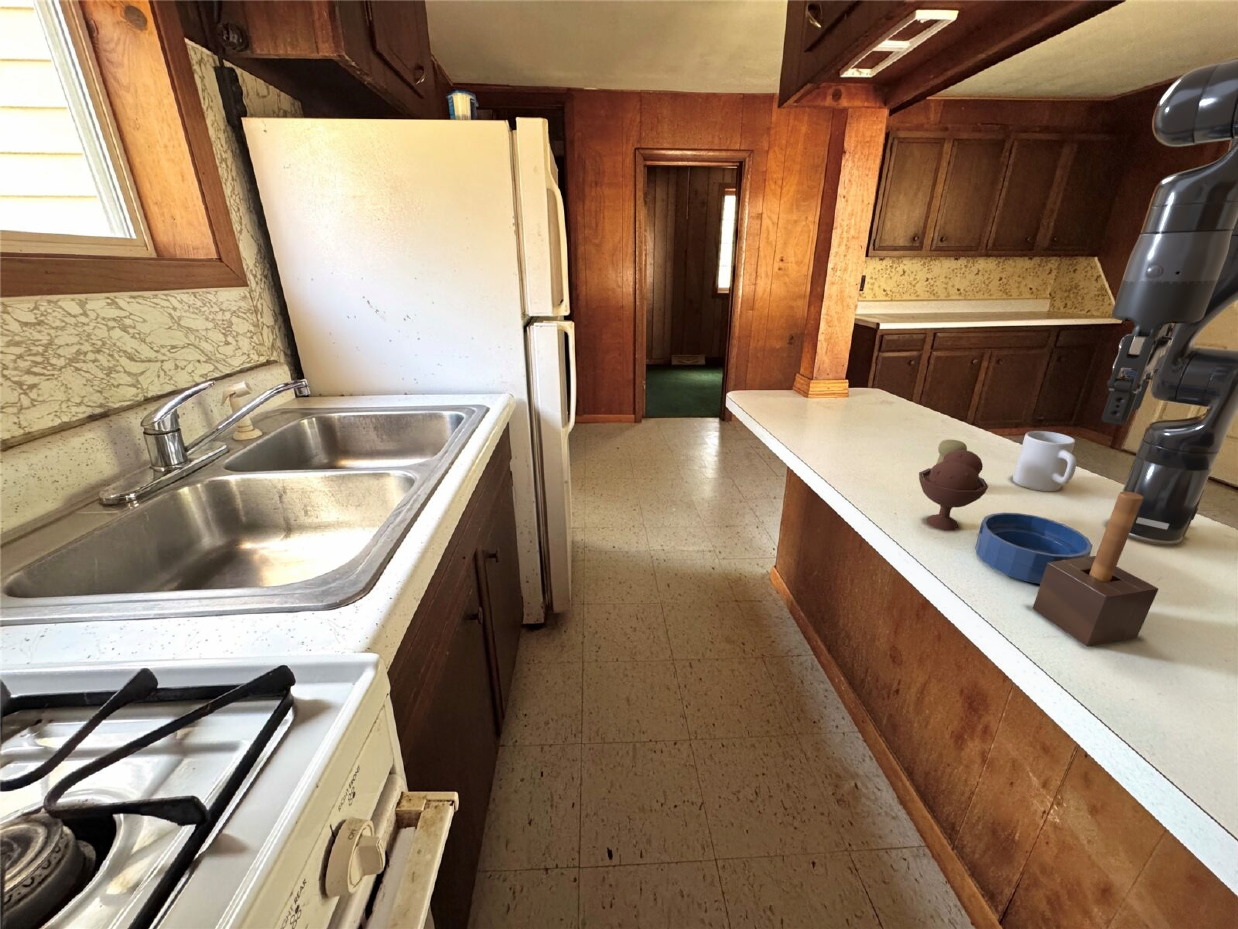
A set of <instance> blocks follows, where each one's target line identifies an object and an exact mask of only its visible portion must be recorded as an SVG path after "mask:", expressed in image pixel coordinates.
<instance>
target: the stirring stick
mask: <svg viewBox="0 0 1238 929" xmlns="http://www.w3.org/2000/svg"><path fill="white" fill-rule="evenodd" d="M1142 500H1143V496H1141V495H1139V494H1137V493H1133V492H1127V491H1123V490H1122V491H1119V493H1118V496H1117V497H1116V501H1115V504H1114V505H1113V509H1112V511H1111V513H1110V517H1109V520H1108V522H1107V525H1106V528H1105V530H1104V533H1103V536H1102V539H1101V541H1100V543H1099V547H1098V549H1097V551H1096V554H1095V556H1096V557H1095V560H1094V562H1093V565H1092V568H1091V570H1090V573H1089V575H1090V576H1091V577H1093V578H1095V579H1097V580H1098V581H1100V582H1102V583H1105V582H1110V581H1111V579H1112V576H1113V574H1114V571H1115V568H1116V567H1118V566H1117V565H1118V564H1119V560H1120V558H1121V556H1122V553H1123V551H1124V548H1125V546H1126V543H1127V540H1128V538H1129V537H1128V535H1129V533H1130V530H1131V528H1132V525H1133V523H1134V520H1135V518H1136V515H1137V512H1138V510H1139V507H1140V505H1141V502H1142Z"/></svg>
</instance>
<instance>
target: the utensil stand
mask: <svg viewBox="0 0 1238 929" xmlns="http://www.w3.org/2000/svg"><path fill="white" fill-rule="evenodd" d="M1095 557H1096V555H1092V556H1091V555H1090V556H1089V557H1083V558H1076V559H1069V560H1062V561H1055V562H1048V563H1047V566H1046V569H1045V572H1044V575H1043V578H1042V581H1041V584H1039V588H1038V590H1037V594H1036V596H1035V600H1034V603H1033V605H1032V610H1034V611H1035V612H1036V613H1038V614H1039V615H1041V616H1042V617H1044V618H1045V619H1047V620H1048V621H1050V622H1051V623H1053V624H1054V625H1056V626H1057V627H1058V628H1060V629H1061V630H1063V631H1064V632H1065V633H1067V634H1068V635H1070V636H1071V637H1073V638H1074V639H1076V640H1077V641H1079V642H1080V643H1081V644H1083V645H1084V646H1086V647H1089V646H1094V645H1095V646H1096V645H1102V644H1107V643H1113V642H1118V641H1126V640H1132V639H1137V638H1138V637H1139V634H1140V632H1141V631H1142V627H1143V626H1144V623H1145V621H1146V618H1147V617H1148V614H1149V612H1150V610H1151V607H1152V606H1153V602H1154V601H1155V598H1156V596H1157V594H1158V591H1159V589H1160V588H1159V587H1157V586H1156V585H1155V586H1154V585H1153V584H1151V583H1149V582H1147V581H1145V580H1144V579H1141V578H1139V577H1138V576H1135V575H1134V574H1132V573H1130V572H1128V571H1126V570H1124V569H1123V568H1120V567H1118V566H1116V568H1115V571H1114V574H1113V576H1112V579H1111V581H1110V582H1105V583H1102V582H1100V581H1098V580H1097V579H1095V578H1093V577H1091V576H1090V575H1089V573H1090V570H1091V568H1092V565H1093V562H1094V560H1095Z"/></svg>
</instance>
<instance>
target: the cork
mask: <svg viewBox="0 0 1238 929" xmlns="http://www.w3.org/2000/svg"><path fill="white" fill-rule="evenodd" d="M937 449H938V450H937V451H938V454H939V455H938V458H937V460H936V463H935V465H936V464H938V463H940V462H943V459H944V457H945V455H947V454H948V453H950V452H952V451H956V450H967V451H968V446H967V444H966V443H965V442H964V441H961V440H957V439H944V440H941V441H940V443H939V444H938V448H937Z"/></svg>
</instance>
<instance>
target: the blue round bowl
mask: <svg viewBox="0 0 1238 929" xmlns="http://www.w3.org/2000/svg"><path fill="white" fill-rule="evenodd" d="M974 550H975V554H976V556H977V557H978V558H979V559H980V560H981V561H982V562H983V563H985V564H986V565H988V566H989V567H991V568H993V569H994V570H996V571H998V572H1000V573H1002V574H1004V575H1007V576H1008V577H1011V578H1014V579H1017V580H1020V581H1023V582H1026V583H1027V582H1028V583H1032V584H1037V585H1038V584H1039V585H1040V584H1041V581H1042V578H1043V575H1044V572H1045V569H1046V566H1047V563H1048V562H1055V561H1062V560H1069V559H1076V558H1083V557H1090V556H1091V553H1092V551H1093V543H1092V542H1091V541H1090V539H1089V538H1088V537H1087V536H1086V535H1084V534H1083V533H1081V532H1080V531H1079V530H1077V529H1074V528H1073V527H1071V526H1068V525H1066V524H1064V523H1062V522H1058V521H1055V520H1053V519H1050V518H1047V517H1042V516H1038V515H1033V514H1027V513H1021V512H997V513H991V514H988V515H986V516H984V517H983V518H982V520H981V524H980V527H979V530H978V534H977V538H976V542H975V546H974Z"/></svg>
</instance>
